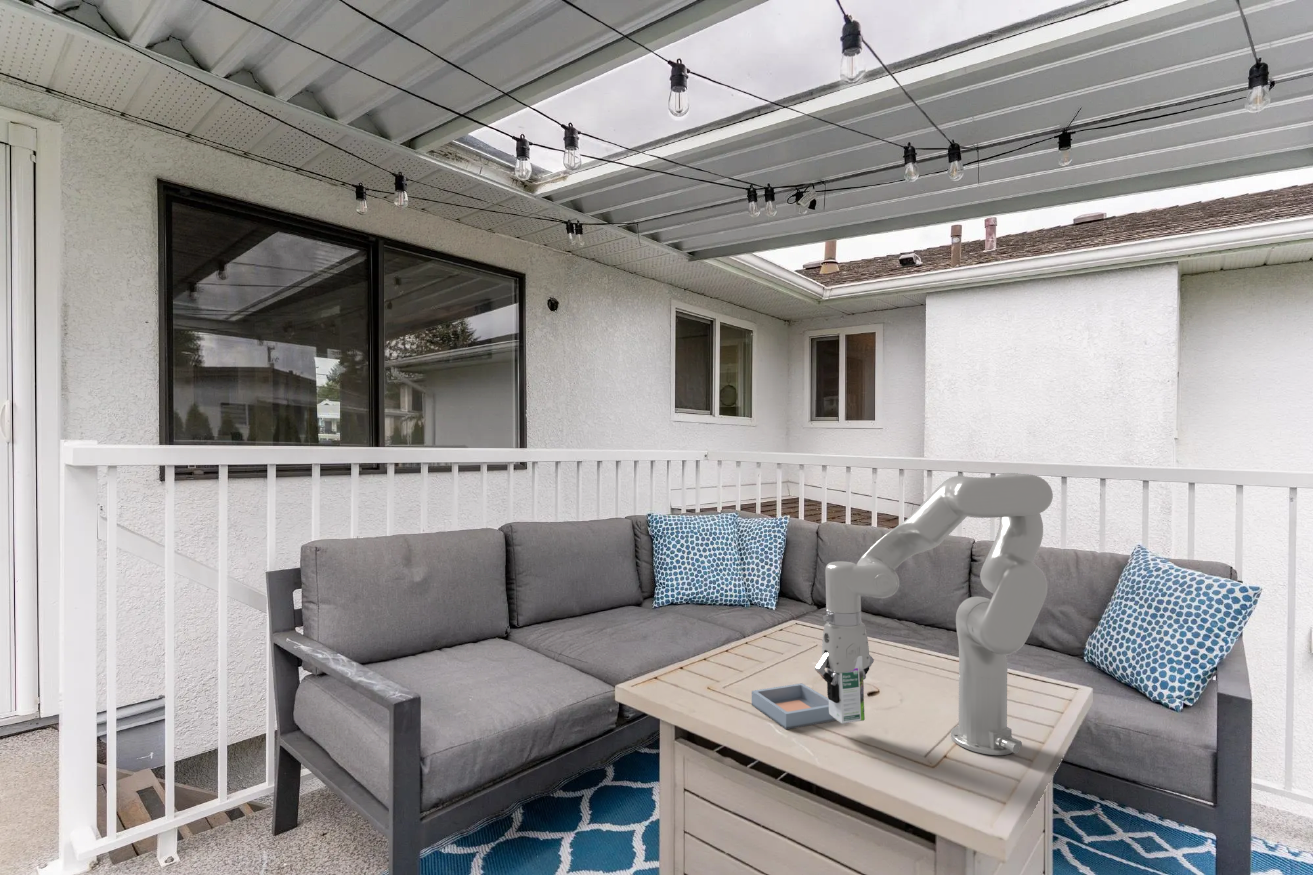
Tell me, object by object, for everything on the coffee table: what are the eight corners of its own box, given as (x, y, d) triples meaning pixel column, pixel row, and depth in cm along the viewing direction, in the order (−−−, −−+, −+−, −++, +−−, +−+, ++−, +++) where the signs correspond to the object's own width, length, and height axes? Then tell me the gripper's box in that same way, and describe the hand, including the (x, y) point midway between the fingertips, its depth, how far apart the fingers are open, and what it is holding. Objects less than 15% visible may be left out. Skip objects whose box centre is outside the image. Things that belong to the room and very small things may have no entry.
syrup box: (842, 724, 139) (840, 657, 140) (827, 714, 145) (826, 649, 145) (865, 721, 141) (863, 655, 141) (850, 710, 147) (848, 647, 147)
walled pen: (839, 719, 151) (839, 704, 152) (785, 729, 146) (786, 714, 146) (801, 696, 165) (801, 683, 165) (751, 704, 160) (751, 690, 160)
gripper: (822, 626, 137) (824, 711, 136) (885, 617, 143) (888, 697, 143) (801, 618, 144) (803, 699, 143) (862, 609, 150) (865, 686, 150)
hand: (845, 697), depth 143 cm, fingers closed on syrup box, 6 cm apart
